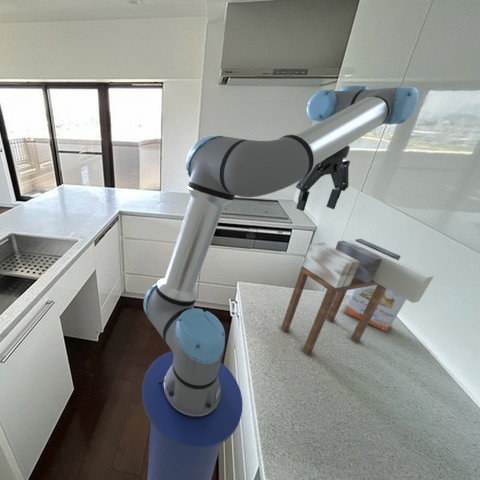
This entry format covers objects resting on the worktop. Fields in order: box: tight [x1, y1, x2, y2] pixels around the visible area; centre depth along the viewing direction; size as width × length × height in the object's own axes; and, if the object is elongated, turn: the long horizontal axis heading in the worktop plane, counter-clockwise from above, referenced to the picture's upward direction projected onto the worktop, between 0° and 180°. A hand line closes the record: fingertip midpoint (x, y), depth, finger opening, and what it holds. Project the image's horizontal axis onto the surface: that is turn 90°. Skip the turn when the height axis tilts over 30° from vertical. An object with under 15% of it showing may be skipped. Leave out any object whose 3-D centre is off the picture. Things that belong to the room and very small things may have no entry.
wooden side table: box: [280, 238, 402, 355], centre depth 83 cm, size 12×23×34 cm, turn 107°
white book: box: [346, 239, 435, 304], centre depth 75 cm, size 22×2×8 cm, turn 17°
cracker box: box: [343, 285, 407, 333], centre depth 95 cm, size 14×6×21 cm, turn 42°
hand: (315, 208), depth 89 cm, fingers open, 13 cm apart
